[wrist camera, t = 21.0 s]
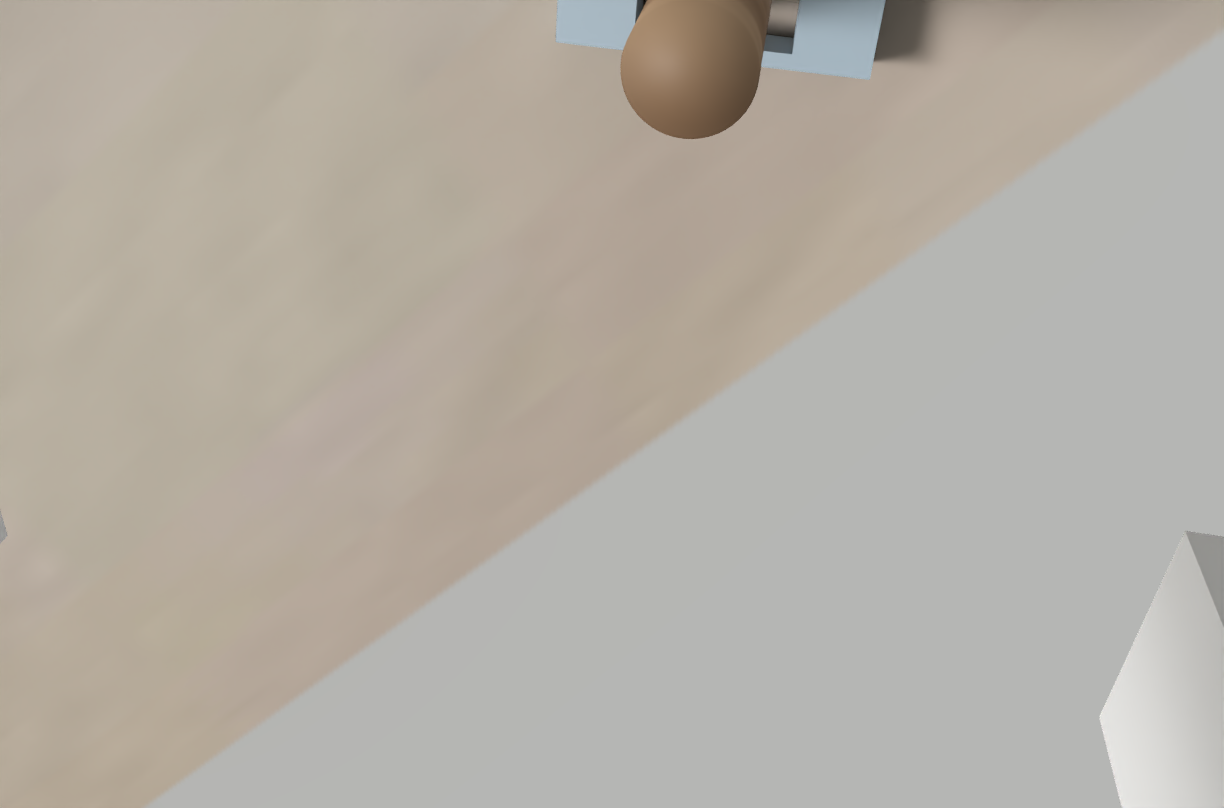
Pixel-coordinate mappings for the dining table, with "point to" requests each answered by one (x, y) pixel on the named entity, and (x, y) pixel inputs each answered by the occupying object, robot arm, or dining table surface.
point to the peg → (694, 63)
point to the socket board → (823, 40)
